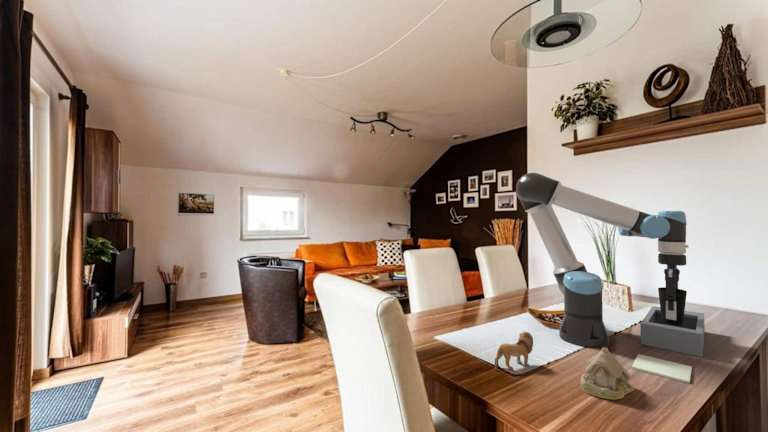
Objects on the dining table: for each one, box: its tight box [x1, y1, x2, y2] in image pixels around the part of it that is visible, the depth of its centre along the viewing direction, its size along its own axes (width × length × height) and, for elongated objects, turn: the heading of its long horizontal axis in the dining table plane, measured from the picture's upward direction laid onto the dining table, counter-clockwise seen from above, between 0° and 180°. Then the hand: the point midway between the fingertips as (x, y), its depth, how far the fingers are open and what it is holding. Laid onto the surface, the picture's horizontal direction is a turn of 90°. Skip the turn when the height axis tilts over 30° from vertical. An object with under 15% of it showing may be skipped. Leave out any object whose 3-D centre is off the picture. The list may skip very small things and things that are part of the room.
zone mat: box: [631, 353, 693, 384], centre depth 91 cm, size 12×12×1 cm
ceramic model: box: [580, 346, 635, 400], centre depth 81 cm, size 14×11×10 cm
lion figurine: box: [494, 331, 534, 371], centre depth 93 cm, size 15×5×9 cm, turn 117°
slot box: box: [640, 305, 706, 358], centre depth 115 cm, size 15×32×7 cm, turn 134°
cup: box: [657, 286, 688, 326], centre depth 114 cm, size 8×8×12 cm
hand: (672, 316), depth 114 cm, fingers closed on cup, 8 cm apart
